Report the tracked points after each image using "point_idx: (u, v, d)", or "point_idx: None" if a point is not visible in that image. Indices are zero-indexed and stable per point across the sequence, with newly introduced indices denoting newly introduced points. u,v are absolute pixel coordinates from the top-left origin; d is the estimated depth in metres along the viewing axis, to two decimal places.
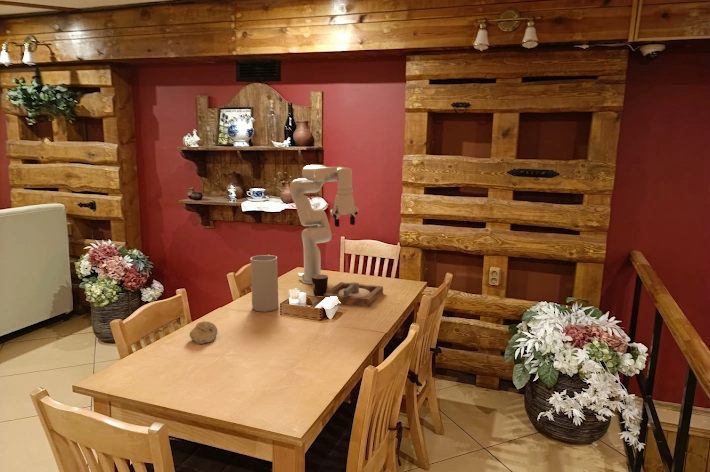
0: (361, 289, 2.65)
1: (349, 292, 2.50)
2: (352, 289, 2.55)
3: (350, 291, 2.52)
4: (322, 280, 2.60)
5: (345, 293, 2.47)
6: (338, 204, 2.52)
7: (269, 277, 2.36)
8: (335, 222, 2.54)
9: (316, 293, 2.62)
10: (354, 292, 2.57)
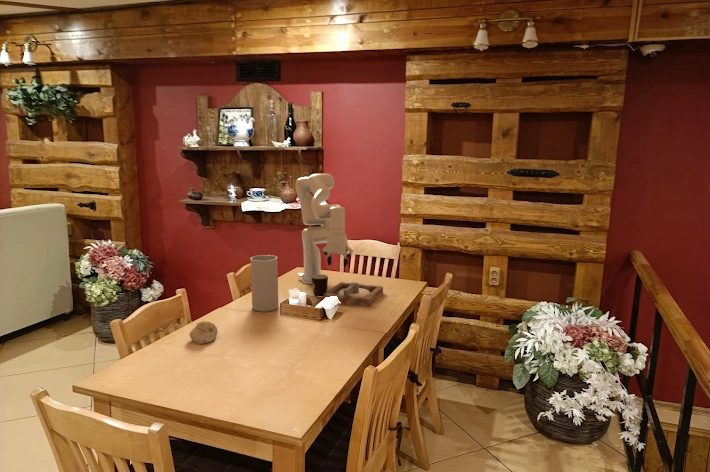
0: (361, 289, 2.65)
1: (349, 292, 2.50)
2: (352, 289, 2.55)
3: (350, 291, 2.52)
4: (322, 280, 2.60)
5: (345, 293, 2.47)
6: (347, 242, 2.52)
7: (269, 277, 2.36)
8: (347, 261, 2.52)
9: (316, 293, 2.62)
10: (354, 292, 2.57)
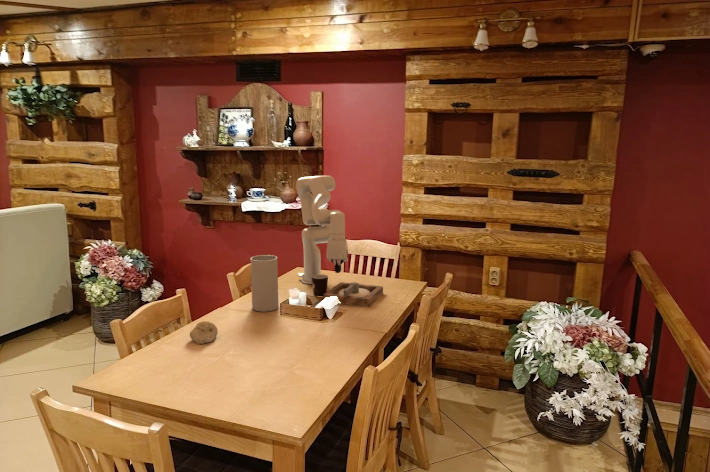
0: (361, 289, 2.65)
1: (349, 292, 2.50)
2: (352, 289, 2.55)
3: (350, 291, 2.52)
4: (322, 280, 2.60)
5: (345, 293, 2.47)
6: (347, 248, 2.52)
7: (269, 277, 2.36)
8: (340, 268, 2.54)
9: (316, 293, 2.62)
10: (354, 292, 2.57)
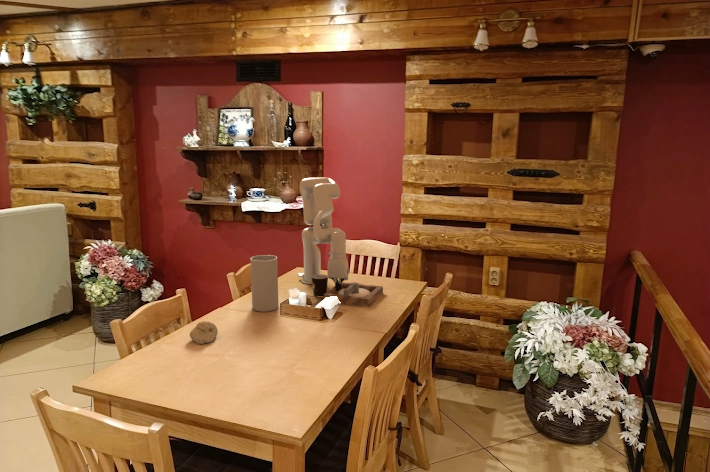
0: (361, 289, 2.65)
1: (349, 292, 2.50)
2: (352, 289, 2.55)
3: (350, 291, 2.52)
4: (322, 280, 2.60)
5: (345, 293, 2.47)
6: None
7: (269, 277, 2.36)
8: (341, 286, 2.56)
9: (316, 293, 2.62)
10: (354, 292, 2.57)
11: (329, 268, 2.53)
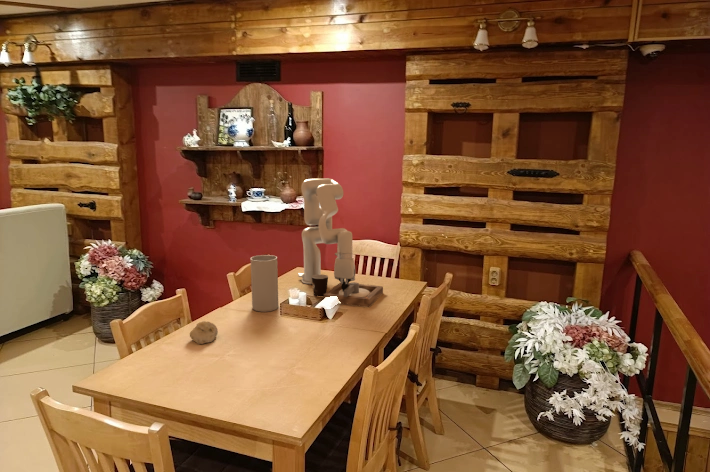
0: (361, 289, 2.65)
1: (349, 292, 2.50)
2: (352, 289, 2.55)
3: (350, 291, 2.52)
4: (322, 280, 2.60)
5: (345, 293, 2.47)
6: (354, 267, 2.53)
7: (269, 277, 2.36)
8: None
9: (316, 293, 2.62)
10: (354, 292, 2.57)
11: (336, 268, 2.52)
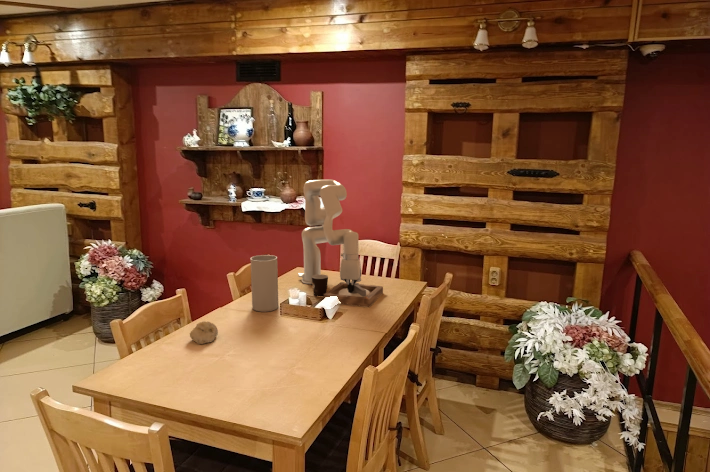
0: None
1: None
2: None
3: None
4: (322, 280, 2.60)
5: (364, 293, 2.48)
6: (360, 267, 2.52)
7: (269, 277, 2.36)
8: (353, 288, 2.54)
9: (316, 293, 2.62)
10: None
11: (342, 269, 2.51)
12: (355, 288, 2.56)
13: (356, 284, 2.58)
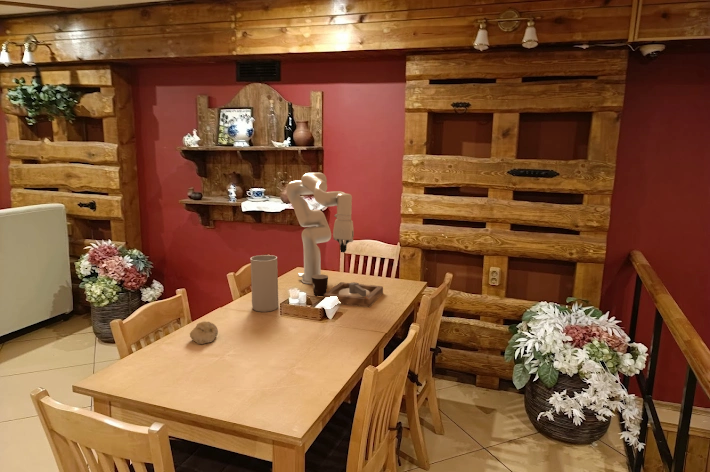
0: None
1: None
2: None
3: None
4: (322, 280, 2.60)
5: (364, 293, 2.48)
6: None
7: (269, 277, 2.36)
8: (345, 248, 2.63)
9: (316, 293, 2.62)
10: None
11: (335, 230, 2.61)
12: (355, 288, 2.56)
13: (356, 284, 2.58)
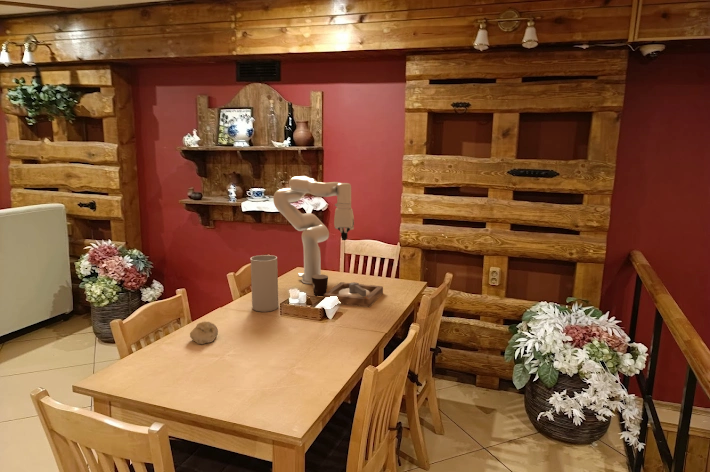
0: None
1: None
2: None
3: None
4: (322, 280, 2.60)
5: (364, 293, 2.48)
6: (353, 216, 2.70)
7: (269, 277, 2.36)
8: (346, 236, 2.72)
9: (316, 293, 2.62)
10: None
11: (336, 218, 2.70)
12: (355, 288, 2.56)
13: (356, 284, 2.58)
